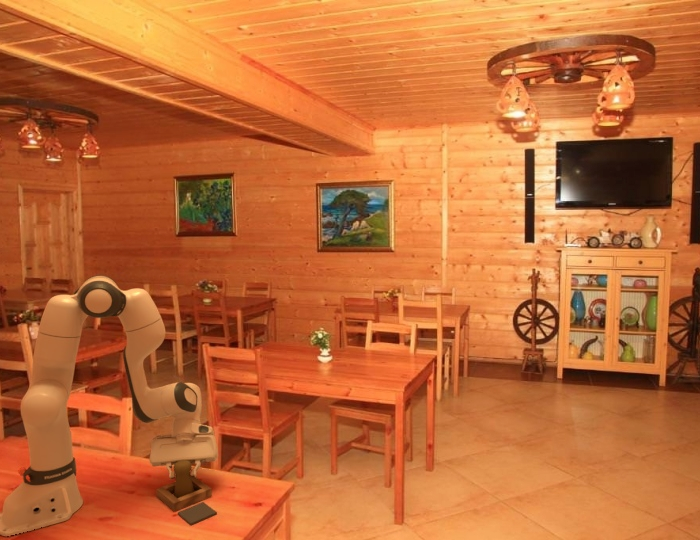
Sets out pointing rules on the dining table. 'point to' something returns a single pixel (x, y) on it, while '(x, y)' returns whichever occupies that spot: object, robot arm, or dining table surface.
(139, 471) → the dining table surface
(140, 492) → the dining table surface
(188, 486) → the cork
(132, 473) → the dining table surface
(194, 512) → the rubber mat
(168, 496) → the walnut housing
